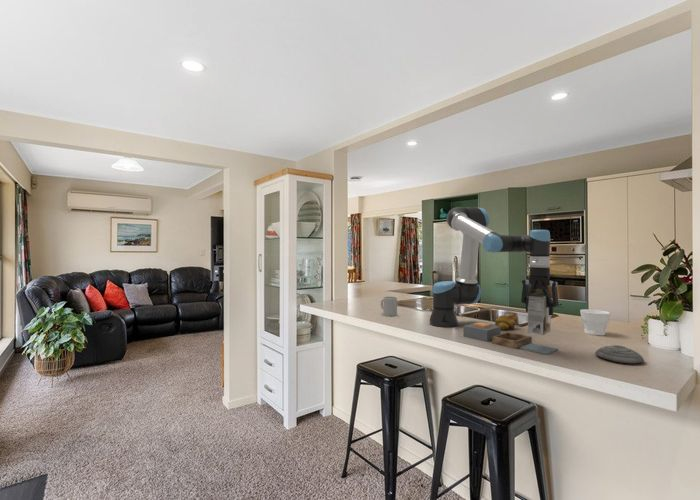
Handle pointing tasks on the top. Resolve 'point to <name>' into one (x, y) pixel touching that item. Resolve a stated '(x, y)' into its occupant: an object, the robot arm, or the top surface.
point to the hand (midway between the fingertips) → (539, 321)
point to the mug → (389, 306)
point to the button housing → (481, 332)
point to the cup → (595, 321)
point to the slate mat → (538, 348)
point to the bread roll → (506, 321)
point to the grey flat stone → (619, 354)
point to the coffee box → (537, 314)
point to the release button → (482, 325)
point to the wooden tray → (504, 340)
